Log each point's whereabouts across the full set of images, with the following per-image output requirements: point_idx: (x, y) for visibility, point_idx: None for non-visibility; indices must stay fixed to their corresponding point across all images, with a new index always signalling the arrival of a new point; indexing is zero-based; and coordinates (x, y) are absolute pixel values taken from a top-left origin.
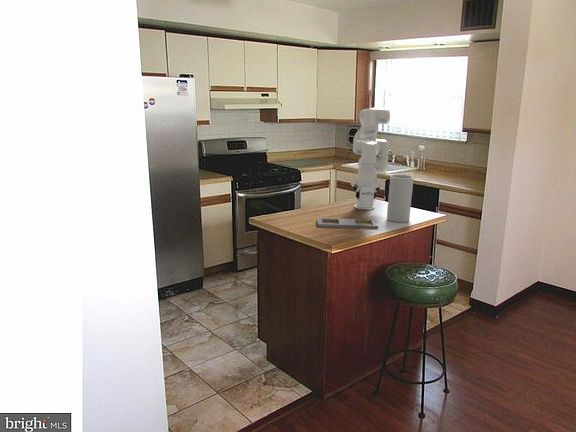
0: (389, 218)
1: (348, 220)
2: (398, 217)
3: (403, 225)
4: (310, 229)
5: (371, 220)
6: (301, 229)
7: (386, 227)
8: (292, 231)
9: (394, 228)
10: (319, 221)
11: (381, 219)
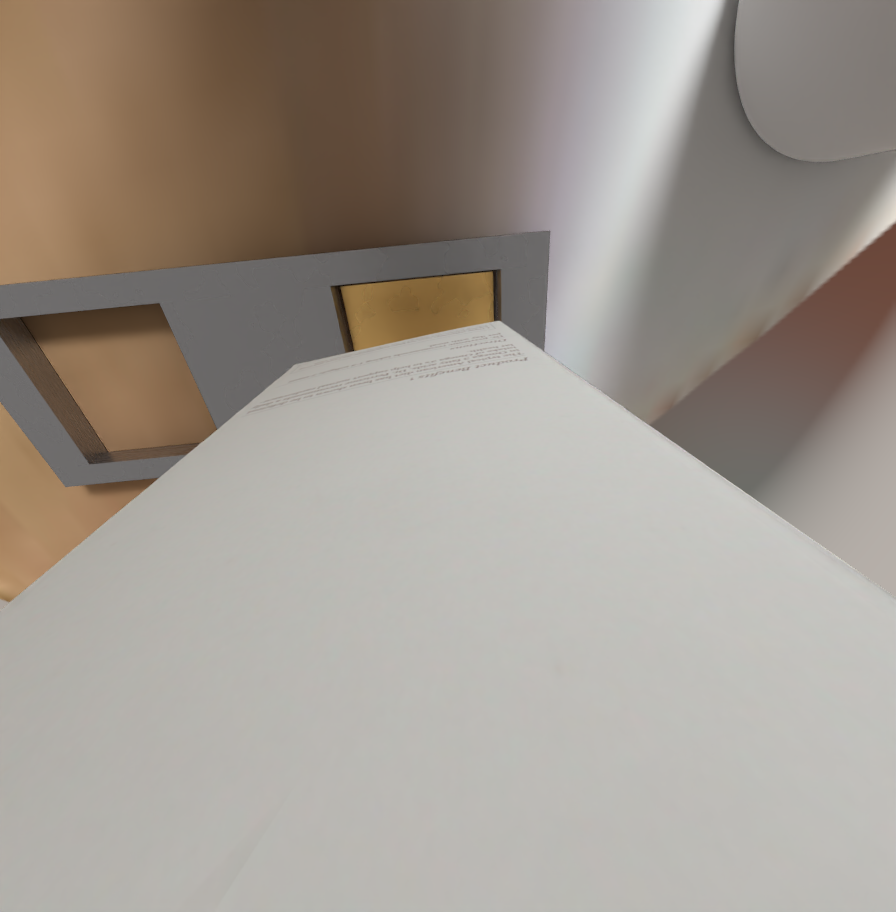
0: (750, 82)
1: (273, 324)
2: (852, 153)
3: (793, 269)
4: (77, 534)
5: (505, 265)
6: (23, 545)
7: (610, 371)
8: (3, 586)
9: (667, 384)
10: (33, 422)
11: (654, 21)
